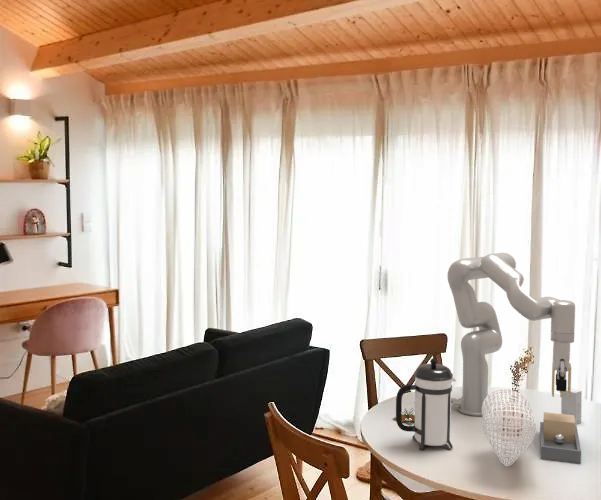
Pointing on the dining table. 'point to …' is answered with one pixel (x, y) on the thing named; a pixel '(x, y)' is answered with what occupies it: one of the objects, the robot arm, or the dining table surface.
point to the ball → (559, 438)
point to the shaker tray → (560, 449)
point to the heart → (530, 426)
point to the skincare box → (572, 404)
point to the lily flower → (407, 417)
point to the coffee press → (429, 405)
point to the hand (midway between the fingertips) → (560, 387)
